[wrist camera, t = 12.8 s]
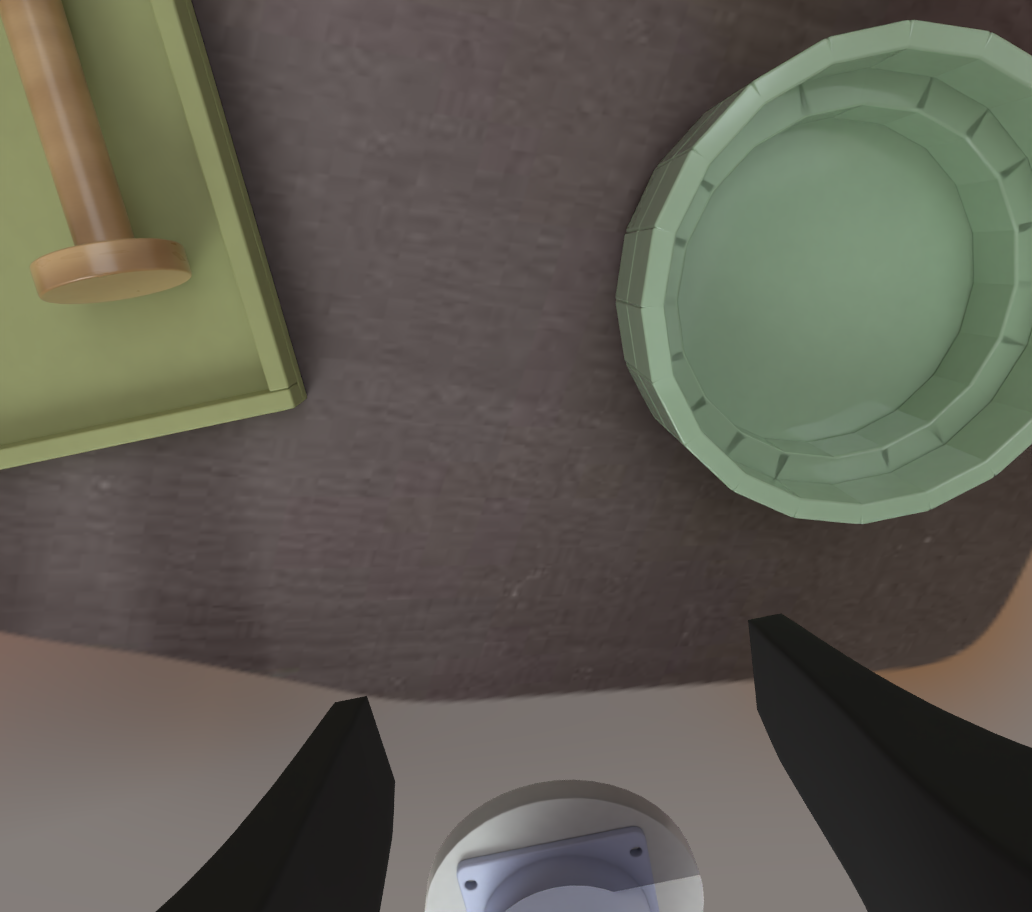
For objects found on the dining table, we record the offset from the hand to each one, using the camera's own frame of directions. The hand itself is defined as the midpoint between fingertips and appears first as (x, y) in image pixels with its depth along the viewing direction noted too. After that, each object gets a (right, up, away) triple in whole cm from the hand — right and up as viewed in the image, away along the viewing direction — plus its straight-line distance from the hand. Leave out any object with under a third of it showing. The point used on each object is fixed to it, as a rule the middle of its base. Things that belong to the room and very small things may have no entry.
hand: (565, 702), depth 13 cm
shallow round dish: (+8, +10, +8) cm, 15 cm away
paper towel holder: (-11, +9, +5) cm, 15 cm away
